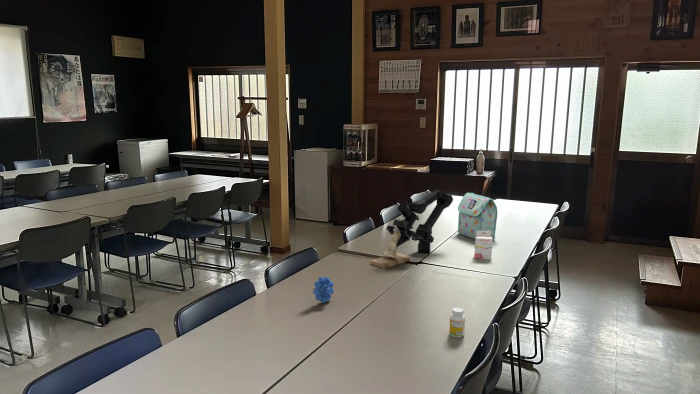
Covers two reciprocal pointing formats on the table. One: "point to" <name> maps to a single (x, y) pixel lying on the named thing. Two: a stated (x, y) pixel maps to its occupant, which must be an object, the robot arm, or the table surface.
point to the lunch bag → (476, 215)
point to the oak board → (389, 260)
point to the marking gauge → (393, 245)
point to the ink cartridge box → (483, 245)
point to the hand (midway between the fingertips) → (394, 245)
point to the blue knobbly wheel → (323, 289)
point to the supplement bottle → (457, 323)
